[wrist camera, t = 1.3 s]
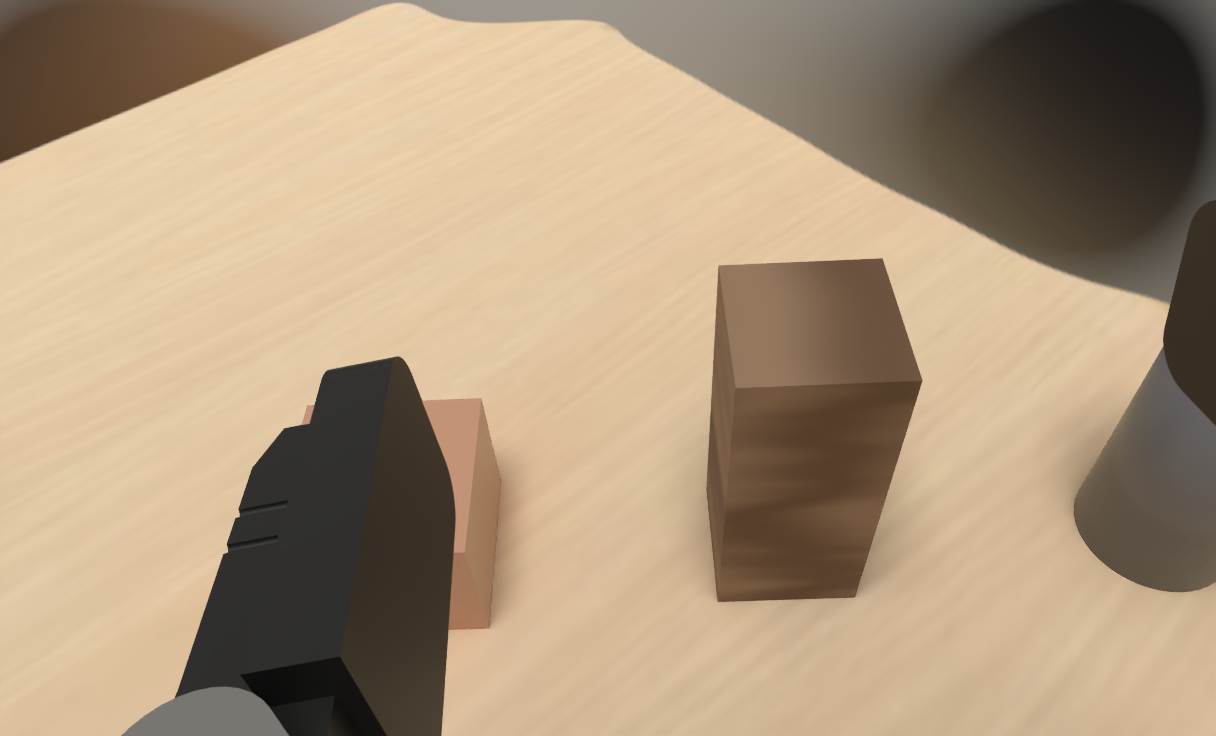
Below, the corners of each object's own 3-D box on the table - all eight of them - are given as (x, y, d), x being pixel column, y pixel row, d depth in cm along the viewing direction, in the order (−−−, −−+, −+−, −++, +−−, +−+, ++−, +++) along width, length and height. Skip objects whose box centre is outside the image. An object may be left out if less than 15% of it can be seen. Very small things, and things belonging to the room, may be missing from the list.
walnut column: (717, 601, 31) (735, 388, 22) (706, 489, 34) (718, 265, 26) (854, 597, 30) (922, 380, 22) (830, 484, 34) (882, 258, 25)
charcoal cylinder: (1069, 563, 31) (1195, 366, 23) (1078, 453, 34) (1192, 248, 27) (1233, 612, 29) (1423, 418, 22) (1227, 492, 32) (1392, 286, 25)
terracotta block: (313, 636, 31) (264, 559, 27) (345, 489, 35) (307, 405, 31) (489, 630, 30) (464, 552, 27) (501, 483, 34) (481, 398, 31)
